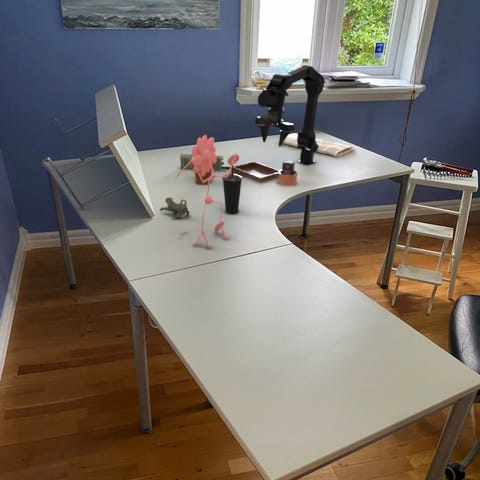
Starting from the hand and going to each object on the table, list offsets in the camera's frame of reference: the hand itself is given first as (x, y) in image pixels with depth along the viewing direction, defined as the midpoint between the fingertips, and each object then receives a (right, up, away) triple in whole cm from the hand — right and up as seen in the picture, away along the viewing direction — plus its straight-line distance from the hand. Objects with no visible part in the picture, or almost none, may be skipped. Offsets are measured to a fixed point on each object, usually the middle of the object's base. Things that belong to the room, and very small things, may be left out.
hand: (271, 144), depth 219 cm
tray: (-6, -11, +8) cm, 15 cm away
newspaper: (+27, +16, +48) cm, 57 cm away
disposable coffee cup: (-31, -17, -1) cm, 35 cm away
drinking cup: (-18, -36, -27) cm, 49 cm away
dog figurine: (-39, -39, -31) cm, 63 cm away
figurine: (-27, -50, -47) cm, 74 cm away
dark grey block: (+7, -17, 0) cm, 18 cm away
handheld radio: (-30, -8, +13) cm, 33 cm away
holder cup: (+7, -17, 0) cm, 19 cm away
